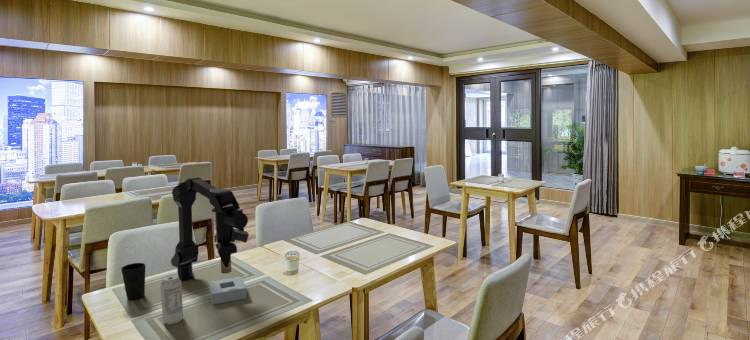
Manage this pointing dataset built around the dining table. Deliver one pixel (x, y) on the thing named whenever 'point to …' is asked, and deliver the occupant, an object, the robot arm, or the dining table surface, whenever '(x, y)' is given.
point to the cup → (134, 280)
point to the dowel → (226, 269)
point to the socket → (227, 290)
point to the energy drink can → (171, 299)
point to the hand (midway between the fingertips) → (226, 265)
